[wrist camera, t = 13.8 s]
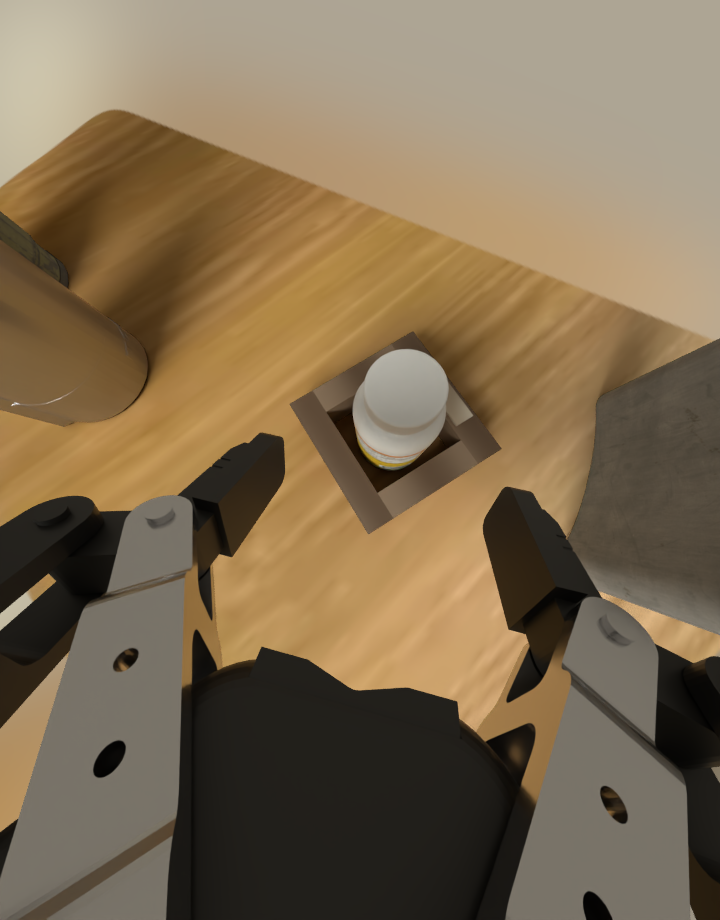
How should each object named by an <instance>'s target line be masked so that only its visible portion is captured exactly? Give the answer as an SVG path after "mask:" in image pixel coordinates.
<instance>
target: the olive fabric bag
mask: <svg viewBox="0 0 720 920" xmlns="http://www.w3.org/2000/svg"><path fill="white" fill-rule="evenodd" d="M0 240H1V241H3V242H4V243H5V244H7V245H8V246H9V247H11V248H12V249H14V250H15V251H16V252H18V253H19V254H21V255H22V256H23V257H25V258H26V259H27V260H29V261H30V262H32V263H33V264H34V265H36V266H37V267H39V268H40V269H41V270H43V271H44V272H45V273H47V274H48V275H50V276H51V277H52V278H54V279H55V280H57V281H58V282H59V283H61V284H62V285H63V286H65V287H66V288H67V287H68V273H67V271H66V269H65V267H64V265H63V263H62V262H60V261H59V260H58V259H57V258H55V257H54V256H53V255H52V254H50V253H49V252H48V251H46V250H44V249H43V248H41V247H40V246H39V245H38V244H36V243H35V241H34V240H33V239H32V238H31V236H30V235H29V234H28V233H27V232H25V231H24V230H23V229H22V228H20V227H19V226H18V225H17V224H15V223H14V222H13V221H12V220H10V219H9V218H8V217H7V216H5V215H4V214H3V213H2V212H0Z"/></svg>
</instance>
